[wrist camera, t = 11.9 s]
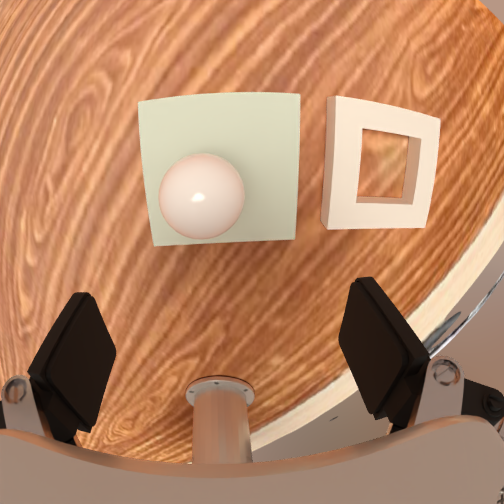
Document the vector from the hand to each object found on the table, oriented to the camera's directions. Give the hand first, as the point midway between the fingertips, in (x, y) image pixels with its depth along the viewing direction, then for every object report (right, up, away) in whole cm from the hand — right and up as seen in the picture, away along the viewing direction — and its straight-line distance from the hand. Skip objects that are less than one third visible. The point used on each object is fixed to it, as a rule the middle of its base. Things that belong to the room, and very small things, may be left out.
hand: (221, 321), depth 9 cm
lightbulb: (-3, +10, +17) cm, 20 cm away
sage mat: (-2, +11, +17) cm, 21 cm away
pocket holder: (+16, +13, +18) cm, 27 cm away
